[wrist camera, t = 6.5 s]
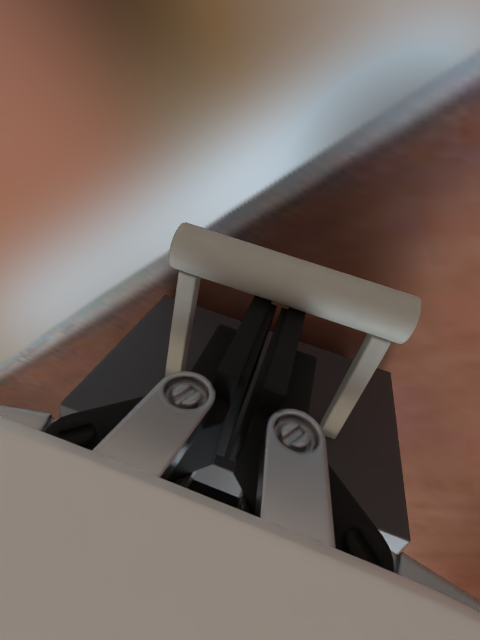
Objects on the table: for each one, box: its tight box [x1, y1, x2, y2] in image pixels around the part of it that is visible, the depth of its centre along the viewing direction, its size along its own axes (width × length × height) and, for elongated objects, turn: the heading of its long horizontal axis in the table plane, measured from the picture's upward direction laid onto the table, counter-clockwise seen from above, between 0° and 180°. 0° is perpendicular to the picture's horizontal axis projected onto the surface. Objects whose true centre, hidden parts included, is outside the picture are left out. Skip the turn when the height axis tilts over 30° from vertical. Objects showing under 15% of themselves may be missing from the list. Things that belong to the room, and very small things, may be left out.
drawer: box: [60, 223, 421, 554], centre depth 17 cm, size 20×11×8 cm, turn 168°
